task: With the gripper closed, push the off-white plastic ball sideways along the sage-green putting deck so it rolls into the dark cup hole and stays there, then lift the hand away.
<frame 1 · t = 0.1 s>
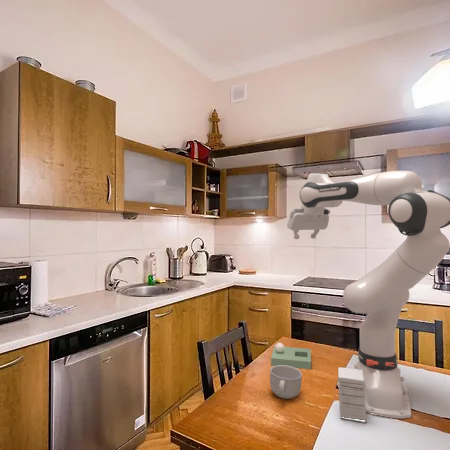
hand: (304, 238, 145), 52 cm above the table, tool tilted 20°, fingers open, 8 cm apart
supplement box: (352, 415, 98), on the table, touching arm
teacup: (284, 396, 109), on the table
putting deck: (291, 360, 138), on the table
ball: (279, 347, 139), point 5 cm above the table, touching putting deck
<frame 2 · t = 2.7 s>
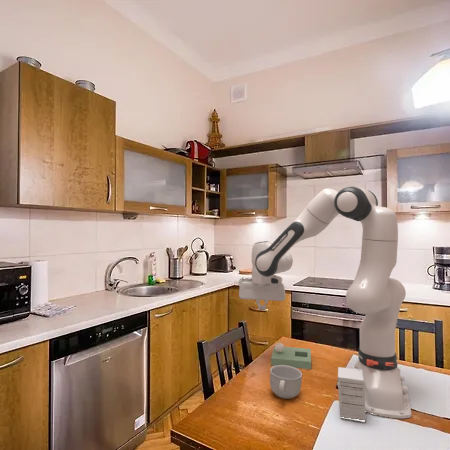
hand: (262, 309, 141), 21 cm above the table, tool pointing down, fingers closed
nothing on the table moved.
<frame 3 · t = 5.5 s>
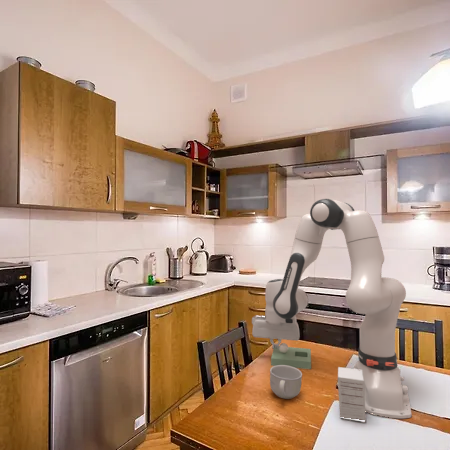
hand: (275, 348, 139), 5 cm above the table, tool pointing down, fingers closed
ball: (283, 348, 139), point 5 cm above the table, tilted 47°, touching gripper, putting deck
everything else where it was.
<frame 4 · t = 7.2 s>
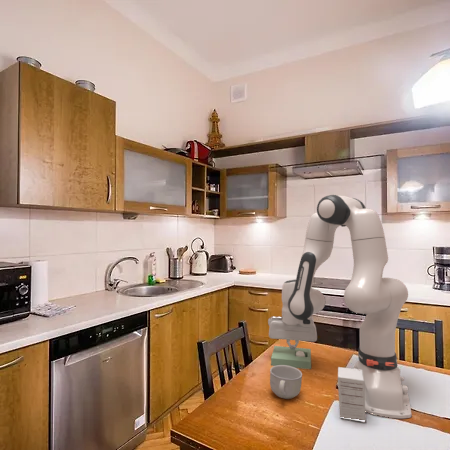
hand: (292, 349, 138), 5 cm above the table, tool pointing down, fingers closed
ball: (300, 355, 137), point 2 cm above the table, tilted 95°, touching putting deck
everything else where it was.
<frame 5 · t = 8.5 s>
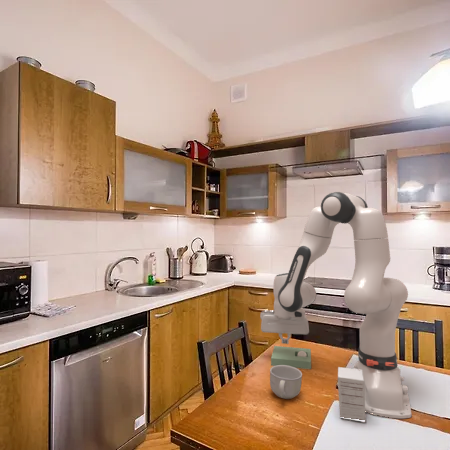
hand: (285, 343, 138), 7 cm above the table, tool pointing down, fingers closed
ball: (302, 355, 137), point 2 cm above the table, tilted 72°, touching putting deck
everything else where it was.
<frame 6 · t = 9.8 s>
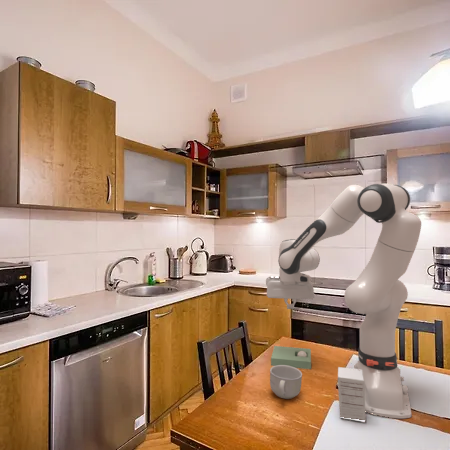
hand: (290, 308, 139), 22 cm above the table, tool pointing down, fingers closed
nothing on the table moved.
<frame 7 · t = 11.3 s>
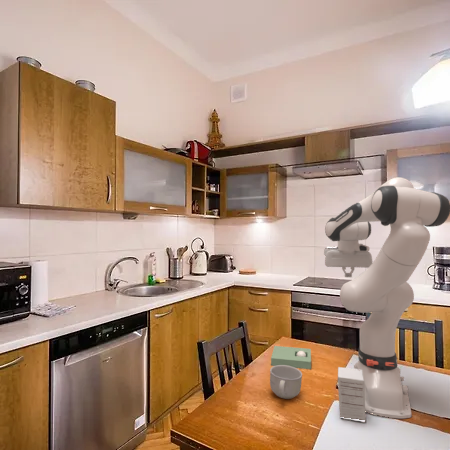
hand: (348, 277, 146), 34 cm above the table, tool pointing down, fingers closed
ball: (301, 355, 137), point 2 cm above the table, tilted 82°, touching putting deck
everything else where it was.
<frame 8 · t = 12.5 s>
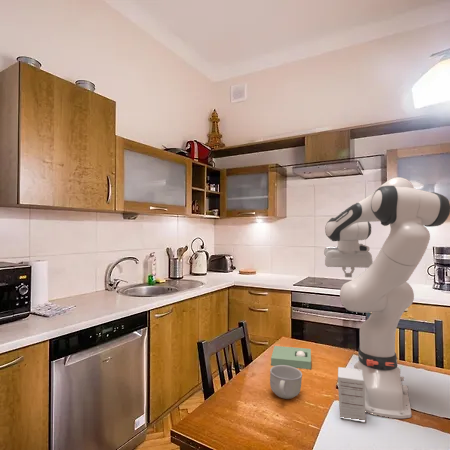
hand: (348, 277, 146), 34 cm above the table, tool pointing down, fingers closed
ball: (300, 355, 137), point 2 cm above the table, tilted 89°, touching putting deck
everything else where it was.
at the end: ball 0.2 cm from the target spot on the putting deck, point 2.3 cm above the putting deck's base; ball moved 9.2 cm from its start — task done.
